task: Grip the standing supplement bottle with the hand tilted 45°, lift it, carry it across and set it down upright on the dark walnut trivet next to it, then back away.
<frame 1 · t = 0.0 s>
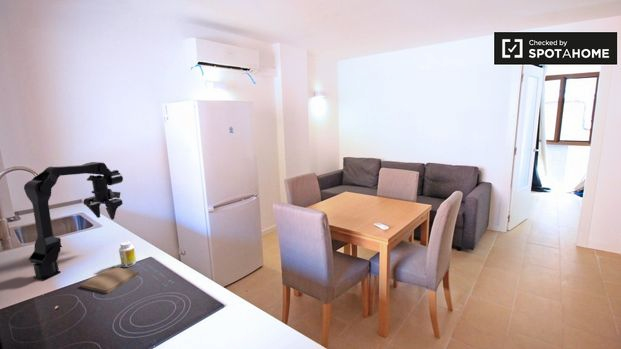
hand: (105, 218, 149), 15 cm above the counter, tool pointing down, fingers open, 9 cm apart
supplement bottle: (129, 264, 134), on the counter
walnut trivet: (110, 280, 121), on the counter
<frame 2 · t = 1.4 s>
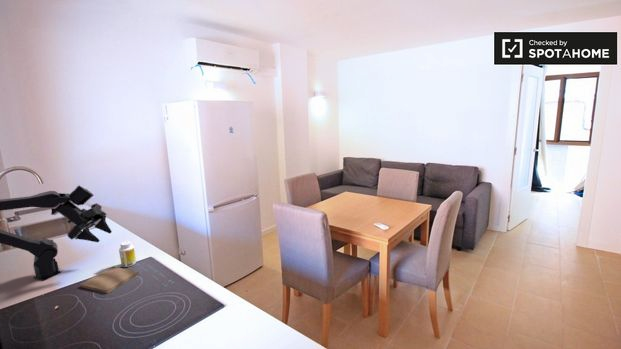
hand: (105, 236, 130), 13 cm above the counter, tool tilted 45°, fingers open, 9 cm apart
nothing on the counter moved.
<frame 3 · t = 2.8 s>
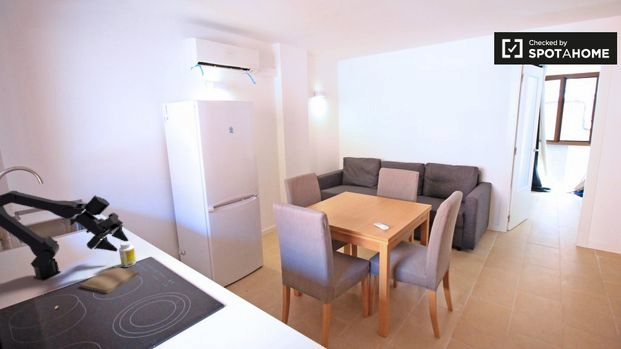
hand: (122, 245, 132), 9 cm above the counter, tool tilted 45°, fingers open, 9 cm apart
nothing on the counter moved.
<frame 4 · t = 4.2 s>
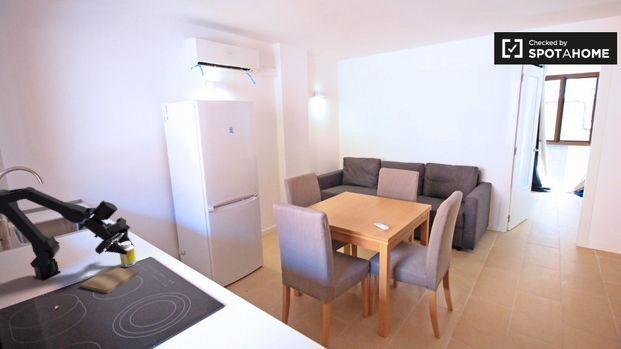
hand: (130, 250, 132), 7 cm above the counter, tool tilted 45°, fingers closed on supplement bottle, 6 cm apart
supplement bottle: (129, 264, 134), on the counter, touching gripper
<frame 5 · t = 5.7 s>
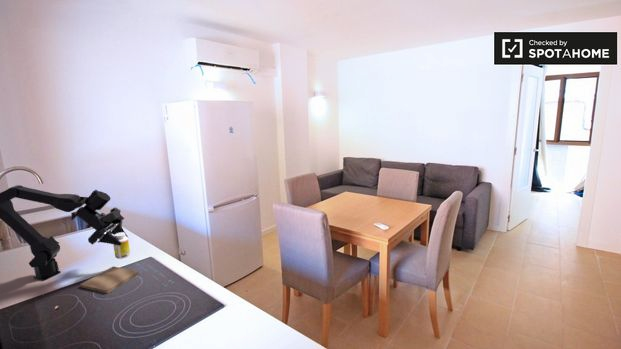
hand: (124, 241, 129), 12 cm above the counter, tool tilted 45°, fingers closed on supplement bottle, 5 cm apart
supplement bottle: (123, 256, 130), point 5 cm above the counter, touching gripper
when the fingers open (9 cm above the counter, at t = 7.4 s): supplement bottle stays where it is, resting on walnut trivet.
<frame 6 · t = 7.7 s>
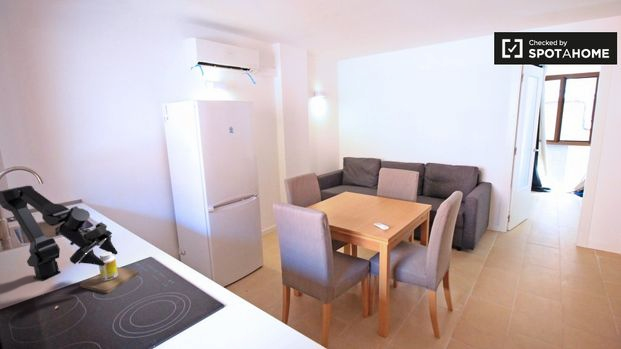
hand: (110, 259, 119), 9 cm above the counter, tool tilted 45°, fingers open, 9 cm apart
supplement bottle: (109, 277, 121), point 1 cm above the counter, touching walnut trivet
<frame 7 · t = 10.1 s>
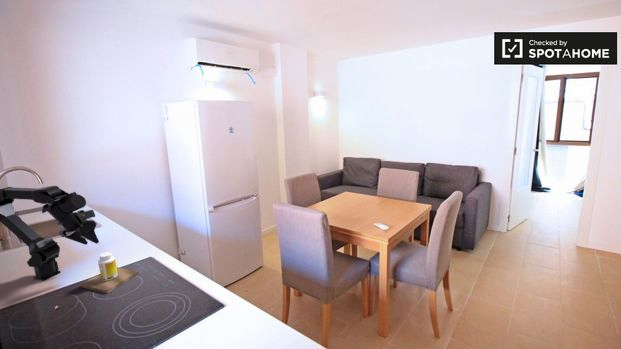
hand: (92, 243, 126), 12 cm above the counter, tool tilted 30°, fingers open, 9 cm apart
nothing on the counter moved.
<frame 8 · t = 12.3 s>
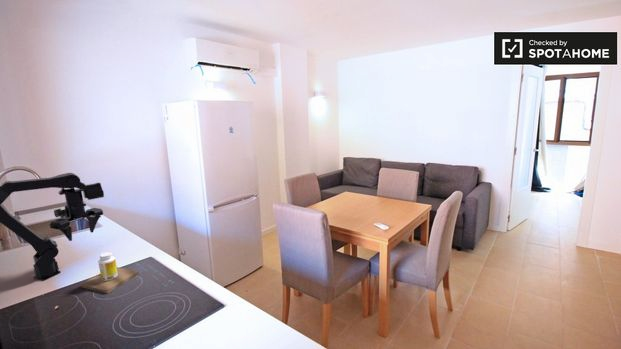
hand: (81, 236, 132), 13 cm above the counter, tool pointing down, fingers open, 9 cm apart
nothing on the counter moved.
at the end: supplement bottle inside the target area on the walnut trivet (0.2 cm from its centre), point 1.0 cm above the walnut trivet's base; supplement bottle tilted 0°; the gripper is holding nothing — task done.
